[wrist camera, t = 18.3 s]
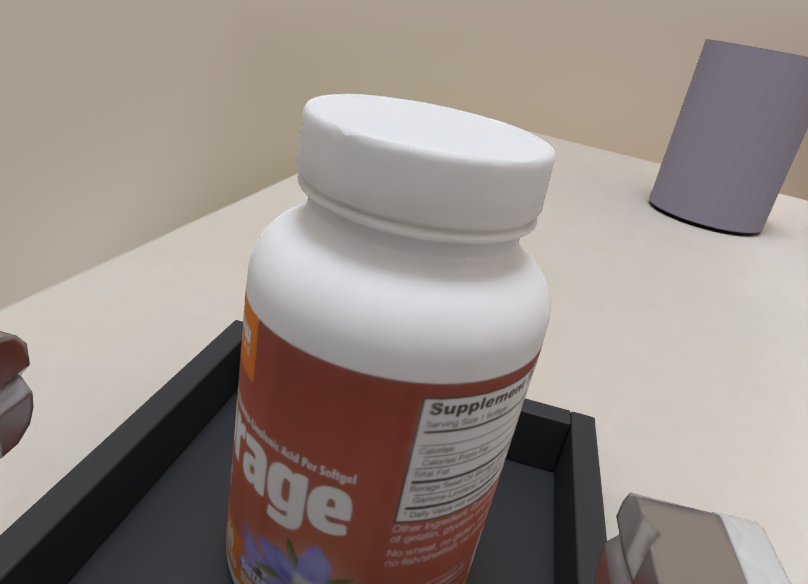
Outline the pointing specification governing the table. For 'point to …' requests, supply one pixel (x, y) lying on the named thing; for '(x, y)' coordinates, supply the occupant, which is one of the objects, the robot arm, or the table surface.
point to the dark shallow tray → (210, 485)
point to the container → (734, 138)
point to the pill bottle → (386, 346)
